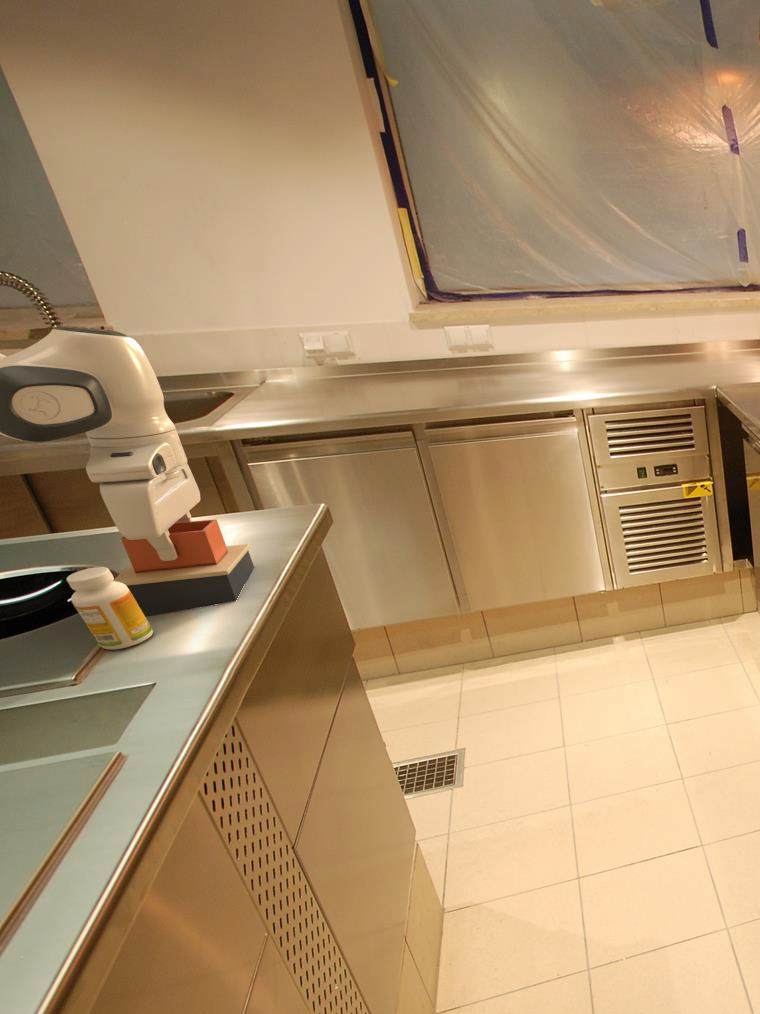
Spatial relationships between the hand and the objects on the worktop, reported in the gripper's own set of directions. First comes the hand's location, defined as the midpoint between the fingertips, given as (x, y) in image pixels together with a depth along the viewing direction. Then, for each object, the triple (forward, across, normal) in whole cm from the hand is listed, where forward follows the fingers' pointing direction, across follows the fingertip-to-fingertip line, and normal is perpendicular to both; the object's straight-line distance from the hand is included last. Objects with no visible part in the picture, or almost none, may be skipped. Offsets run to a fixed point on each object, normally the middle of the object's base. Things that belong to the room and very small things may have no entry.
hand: (179, 551), depth 119 cm
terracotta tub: (+2, 0, 0) cm, 2 cm away
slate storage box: (+8, 0, 0) cm, 8 cm away
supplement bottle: (+8, +13, -4) cm, 16 cm away
